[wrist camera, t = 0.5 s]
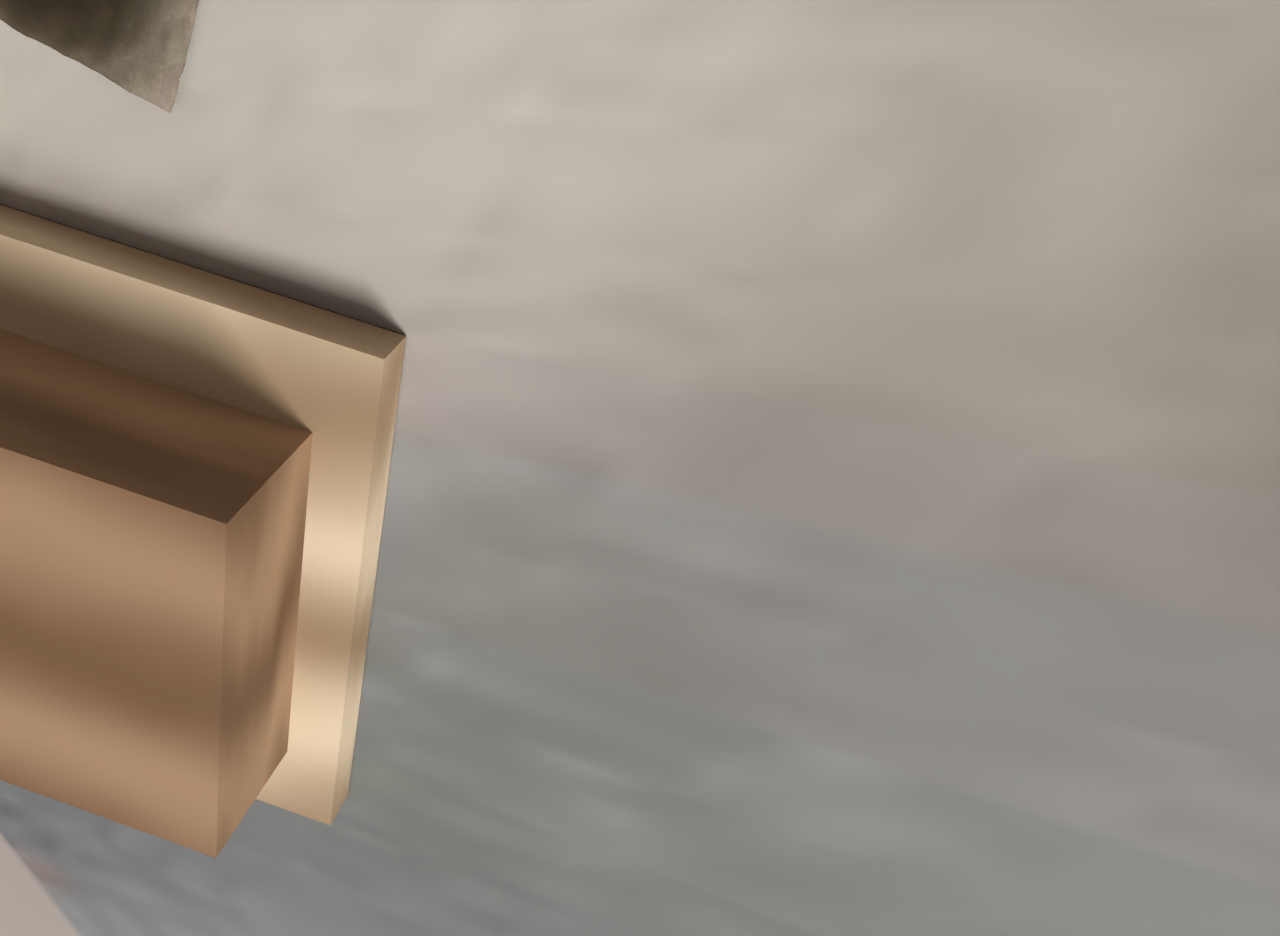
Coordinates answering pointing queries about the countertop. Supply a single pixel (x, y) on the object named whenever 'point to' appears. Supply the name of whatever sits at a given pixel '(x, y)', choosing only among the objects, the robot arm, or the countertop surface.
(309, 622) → the base board
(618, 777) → the countertop surface
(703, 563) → the countertop surface
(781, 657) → the countertop surface
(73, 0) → the condiment
